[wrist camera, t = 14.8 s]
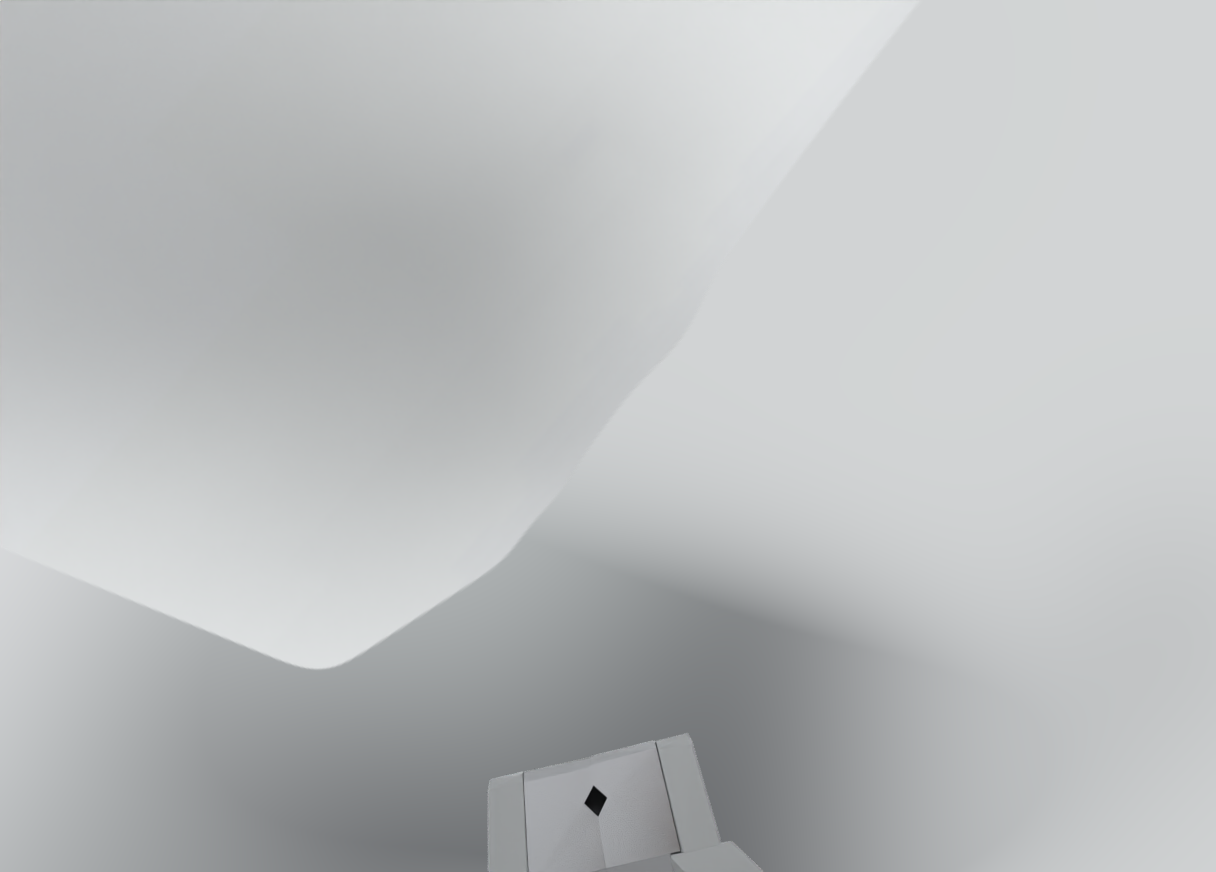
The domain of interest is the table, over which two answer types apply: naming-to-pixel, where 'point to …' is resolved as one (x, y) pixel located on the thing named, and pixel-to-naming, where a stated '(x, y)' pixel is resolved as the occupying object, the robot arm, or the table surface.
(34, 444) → the table surface
